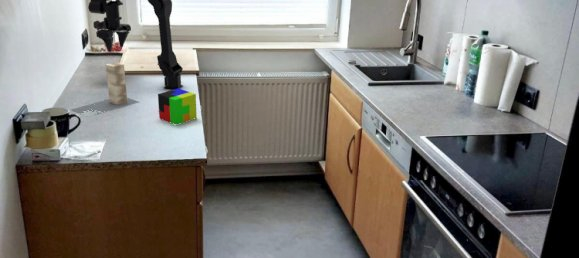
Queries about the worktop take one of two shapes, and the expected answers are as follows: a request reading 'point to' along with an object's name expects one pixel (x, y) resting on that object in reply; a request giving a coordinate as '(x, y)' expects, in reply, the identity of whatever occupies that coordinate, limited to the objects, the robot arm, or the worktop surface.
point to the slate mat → (103, 106)
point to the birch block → (116, 83)
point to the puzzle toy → (177, 106)
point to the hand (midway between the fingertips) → (115, 49)
